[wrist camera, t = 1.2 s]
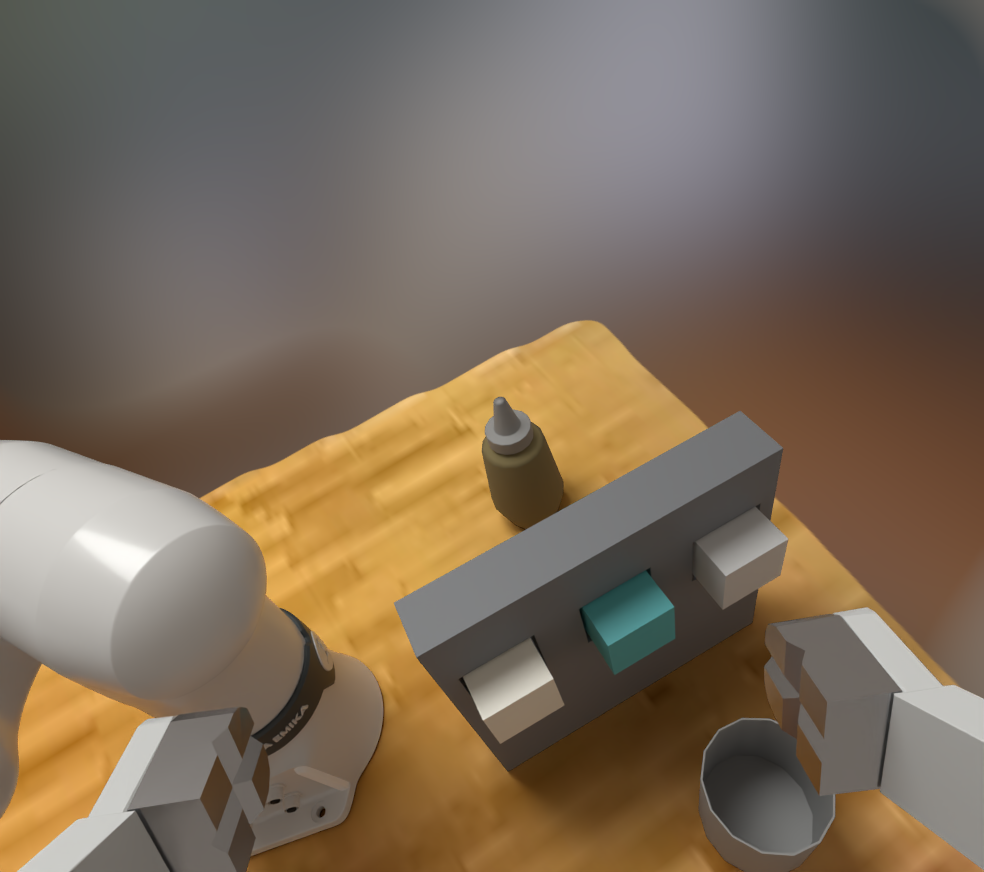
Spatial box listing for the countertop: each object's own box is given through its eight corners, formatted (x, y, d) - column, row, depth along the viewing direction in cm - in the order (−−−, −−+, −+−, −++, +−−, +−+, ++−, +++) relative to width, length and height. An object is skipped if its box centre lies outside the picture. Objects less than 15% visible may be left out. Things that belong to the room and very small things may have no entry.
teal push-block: (614, 675, 45) (608, 646, 41) (570, 606, 49) (560, 574, 45) (675, 638, 45) (674, 606, 42) (626, 573, 49) (622, 539, 46)
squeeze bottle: (502, 545, 72) (461, 443, 58) (494, 487, 77) (454, 382, 64) (574, 530, 71) (549, 422, 58) (561, 472, 76) (535, 362, 63)
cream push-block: (500, 744, 43) (483, 720, 40) (464, 667, 47) (445, 639, 44) (564, 705, 44) (553, 678, 40) (523, 633, 48) (510, 603, 44)
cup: (676, 798, 53) (674, 766, 45) (750, 734, 54) (760, 693, 47) (759, 904, 47) (773, 887, 40) (838, 829, 49) (865, 799, 42)
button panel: (508, 771, 57) (416, 657, 37) (488, 729, 59) (393, 602, 40) (752, 622, 60) (783, 448, 41) (723, 589, 63) (740, 410, 44)
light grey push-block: (722, 609, 46) (725, 576, 42) (670, 547, 50) (669, 512, 46) (780, 575, 47) (788, 539, 43) (724, 516, 51) (727, 479, 47)
